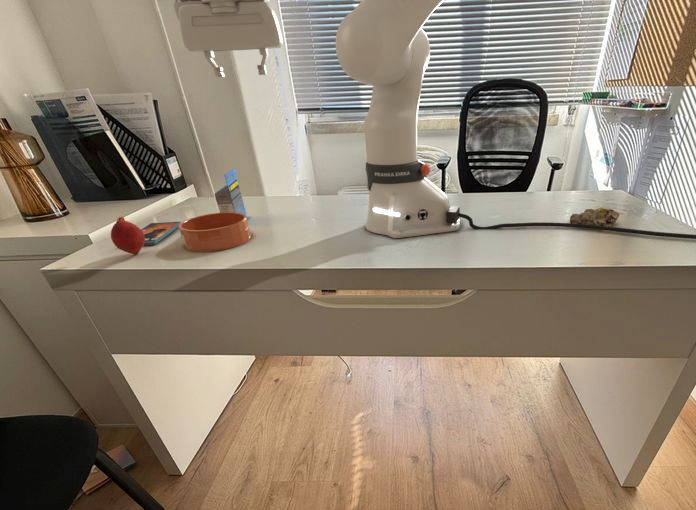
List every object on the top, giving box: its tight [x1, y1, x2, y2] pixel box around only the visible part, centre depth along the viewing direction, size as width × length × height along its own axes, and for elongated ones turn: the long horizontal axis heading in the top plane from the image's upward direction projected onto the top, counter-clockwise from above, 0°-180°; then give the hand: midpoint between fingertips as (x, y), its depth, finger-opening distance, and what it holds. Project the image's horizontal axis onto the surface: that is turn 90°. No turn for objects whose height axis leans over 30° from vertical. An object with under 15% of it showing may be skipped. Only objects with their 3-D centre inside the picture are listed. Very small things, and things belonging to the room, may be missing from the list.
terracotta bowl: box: [177, 212, 252, 253], centre depth 88 cm, size 14×14×4 cm
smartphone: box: [141, 221, 183, 246], centre depth 94 cm, size 8×1×15 cm
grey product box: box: [214, 168, 248, 219], centre depth 97 cm, size 9×4×12 cm, turn 5°
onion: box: [110, 215, 145, 256], centre depth 81 cm, size 6×6×8 cm
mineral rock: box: [569, 207, 620, 227], centre depth 88 cm, size 11×4×8 cm
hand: (241, 76), depth 86 cm, fingers open, 8 cm apart
